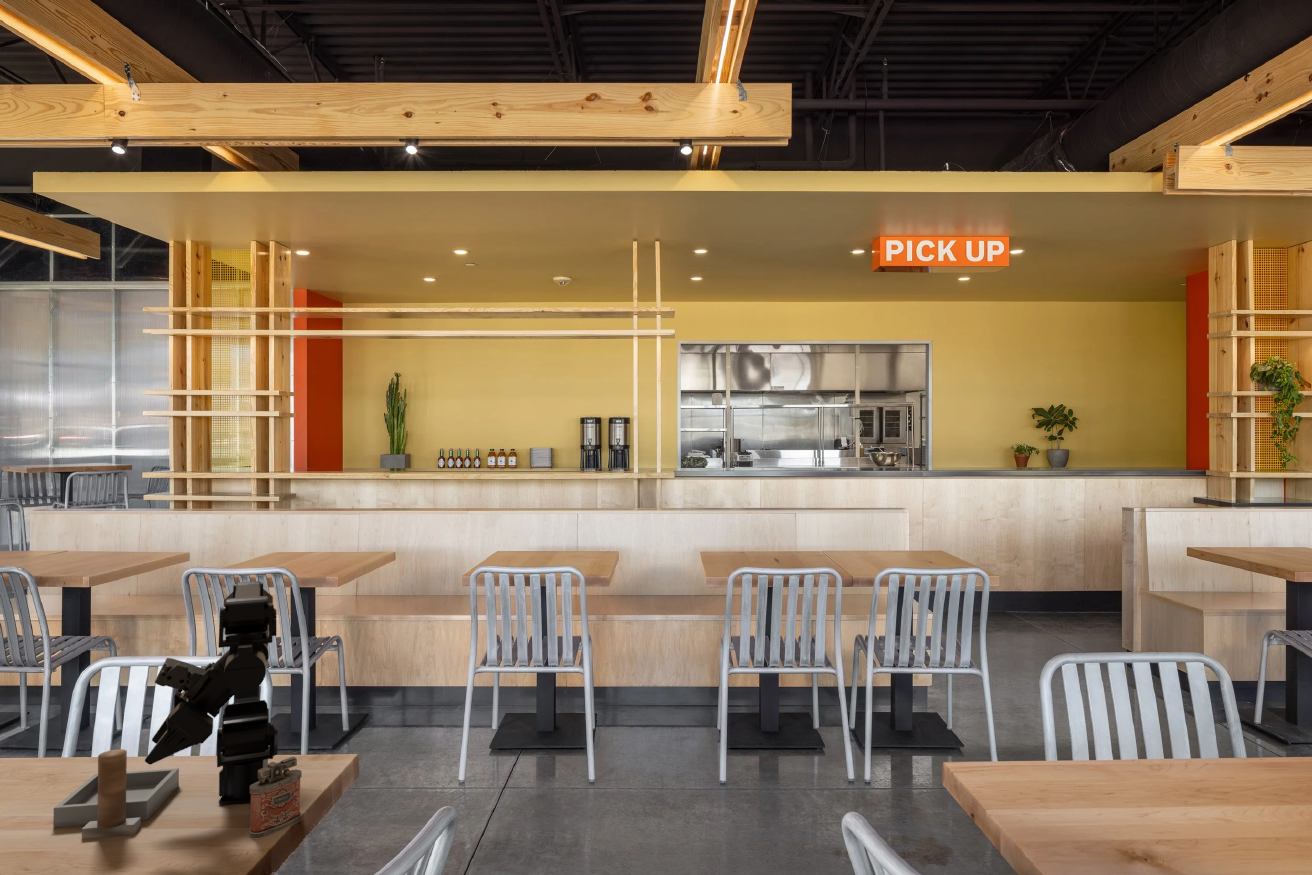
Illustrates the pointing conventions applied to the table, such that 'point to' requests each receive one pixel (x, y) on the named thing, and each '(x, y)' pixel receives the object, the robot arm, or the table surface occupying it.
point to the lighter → (275, 799)
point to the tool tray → (140, 797)
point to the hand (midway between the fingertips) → (150, 751)
